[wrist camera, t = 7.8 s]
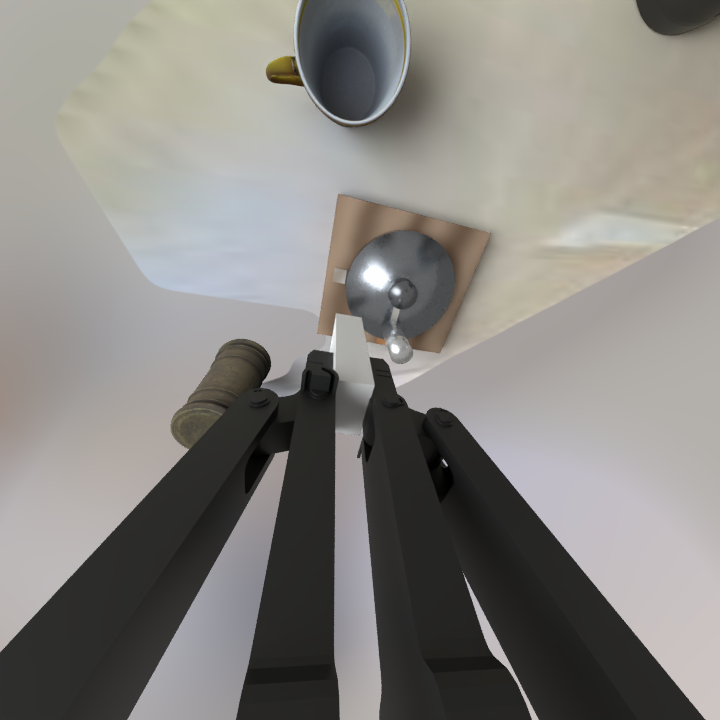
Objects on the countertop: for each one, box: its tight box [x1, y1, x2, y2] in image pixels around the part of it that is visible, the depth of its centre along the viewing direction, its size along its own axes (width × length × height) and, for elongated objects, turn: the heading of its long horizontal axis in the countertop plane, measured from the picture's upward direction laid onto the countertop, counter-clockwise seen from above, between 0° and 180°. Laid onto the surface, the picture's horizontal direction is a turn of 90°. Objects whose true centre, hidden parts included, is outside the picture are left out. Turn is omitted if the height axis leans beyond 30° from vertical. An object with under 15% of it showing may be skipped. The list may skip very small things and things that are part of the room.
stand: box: [317, 194, 491, 353], centre depth 42 cm, size 22×20×3 cm
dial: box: [346, 230, 455, 364], centre depth 36 cm, size 16×16×10 cm
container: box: [171, 339, 271, 450], centre depth 41 cm, size 9×9×18 cm
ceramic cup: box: [266, 0, 411, 127], centre depth 27 cm, size 13×10×10 cm
